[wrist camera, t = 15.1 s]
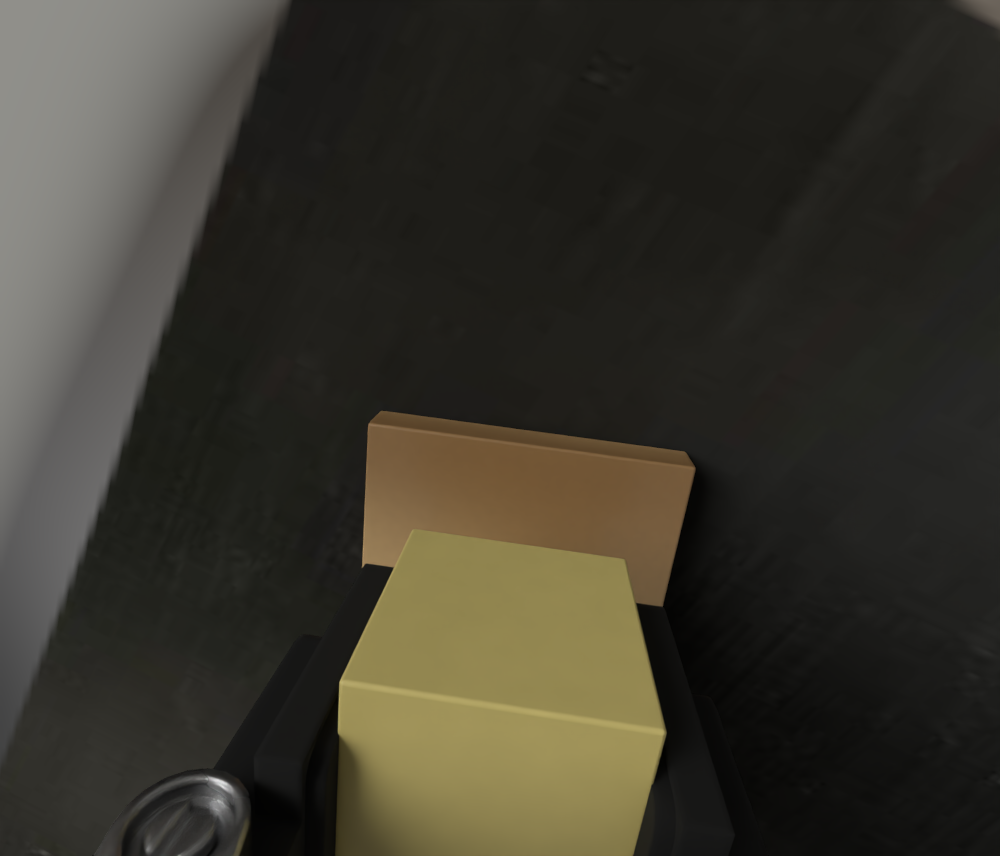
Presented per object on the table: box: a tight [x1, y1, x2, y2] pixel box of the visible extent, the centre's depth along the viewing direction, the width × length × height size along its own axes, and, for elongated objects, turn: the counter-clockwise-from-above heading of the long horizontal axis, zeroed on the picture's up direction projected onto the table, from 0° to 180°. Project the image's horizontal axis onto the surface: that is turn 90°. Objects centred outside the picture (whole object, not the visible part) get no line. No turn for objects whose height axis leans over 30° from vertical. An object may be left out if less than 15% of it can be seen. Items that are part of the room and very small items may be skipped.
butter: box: [335, 529, 667, 856], centre depth 8 cm, size 4×4×4 cm
